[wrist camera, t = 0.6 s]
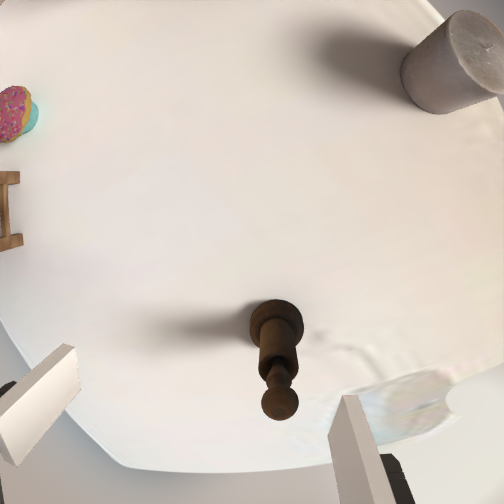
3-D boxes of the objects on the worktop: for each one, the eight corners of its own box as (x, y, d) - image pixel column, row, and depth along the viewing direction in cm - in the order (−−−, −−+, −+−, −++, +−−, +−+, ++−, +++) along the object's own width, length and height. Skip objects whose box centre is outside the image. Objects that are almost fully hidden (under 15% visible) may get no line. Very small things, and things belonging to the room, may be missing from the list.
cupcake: (50, 129, 37) (-6, 118, 25) (13, 154, 38) (-41, 151, 26) (43, 81, 35) (-8, 62, 24) (7, 108, 36) (-43, 97, 25)
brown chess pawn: (262, 352, 41) (258, 448, 24) (241, 311, 40) (222, 396, 23) (309, 334, 40) (332, 425, 23) (290, 290, 39) (305, 367, 22)
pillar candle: (421, 38, 32) (472, -10, 17) (470, 88, 33) (535, 60, 18) (386, 78, 34) (437, 31, 19) (439, 130, 34) (508, 111, 20)
